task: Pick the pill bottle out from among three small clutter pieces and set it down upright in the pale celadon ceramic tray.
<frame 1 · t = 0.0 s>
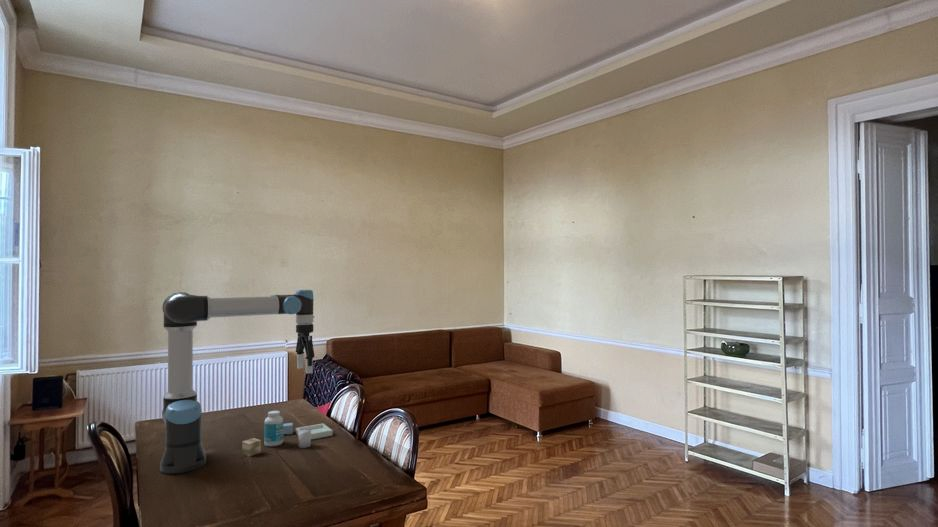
hand: (304, 370, 230), 28 cm above the table, fingers open, 13 cm apart
oak cube: (251, 453, 204), on the table
grey cylinder: (304, 446, 212), on the table
blue block: (285, 433, 229), on the table
pill bottle: (273, 444, 215), on the table
tray: (314, 434, 228), on the table
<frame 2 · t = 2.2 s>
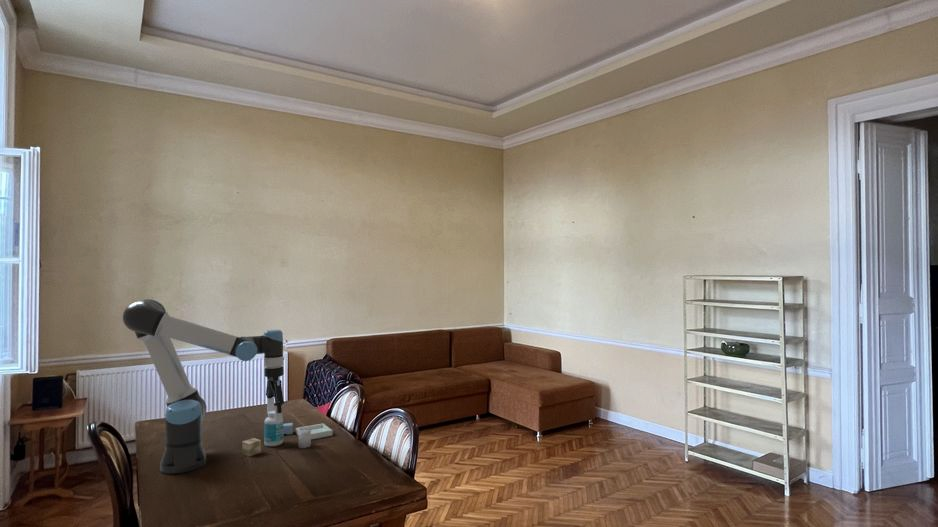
hand: (274, 416, 215), 11 cm above the table, fingers open, 13 cm apart
nothing on the table moved.
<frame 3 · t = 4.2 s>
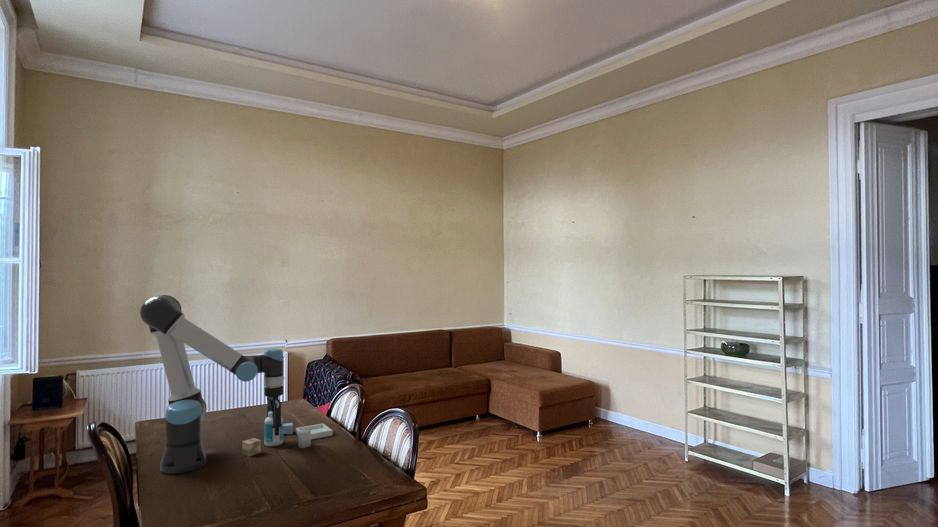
hand: (273, 440, 215), 2 cm above the table, fingers closed on pill bottle, 7 cm apart
pill bottle: (273, 444, 215), on the table, touching gripper
everything else where it was.
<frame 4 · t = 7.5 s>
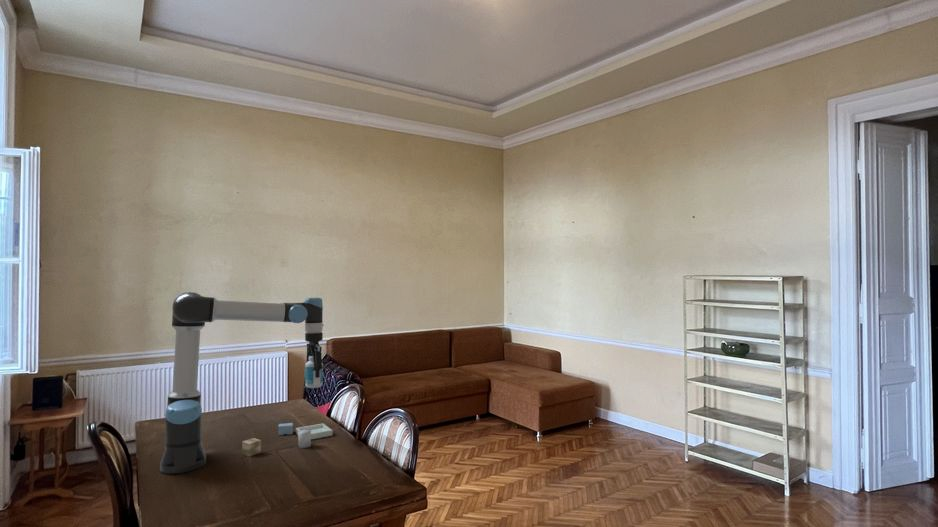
hand: (313, 383, 228), 23 cm above the table, fingers closed on pill bottle, 7 cm apart
pill bottle: (314, 387, 228), point 21 cm above the table, touching gripper
everything else where it was.
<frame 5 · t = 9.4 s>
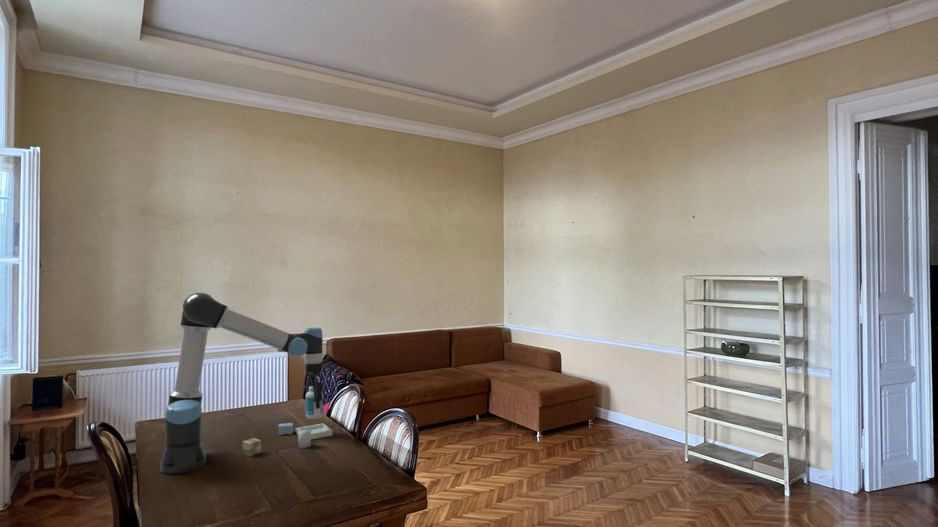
hand: (314, 413, 228), 9 cm above the table, fingers closed on pill bottle, 7 cm apart
pill bottle: (314, 417, 228), point 7 cm above the table, touching gripper
everything else where it was.
when the fingers open (4 cm above the table, at t = 11.1 s): pill bottle drops 2 cm, resting on tray.
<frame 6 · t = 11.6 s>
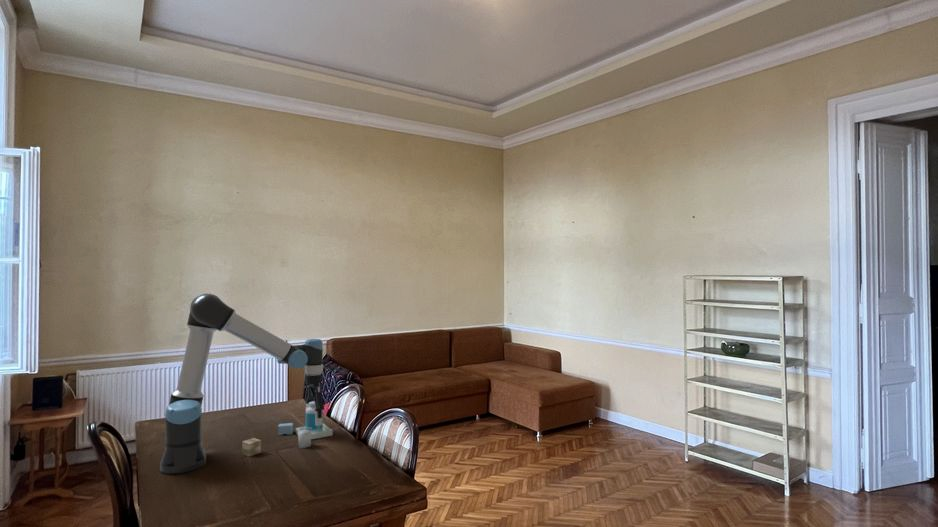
hand: (314, 421, 228), 6 cm above the table, fingers open, 13 cm apart
pill bottle: (314, 433, 227), point 1 cm above the table, touching tray
everything else where it was.
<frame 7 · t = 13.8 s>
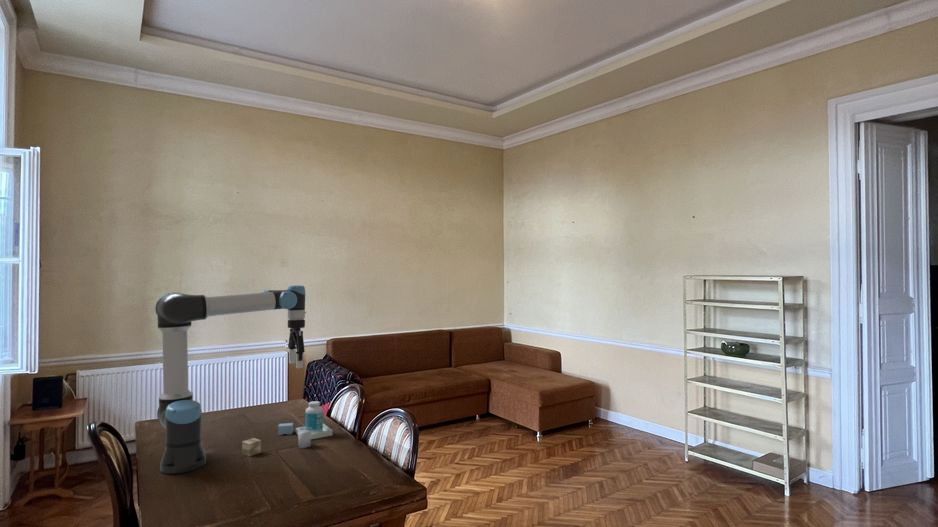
hand: (295, 365, 232), 30 cm above the table, fingers open, 13 cm apart
nothing on the table moved.
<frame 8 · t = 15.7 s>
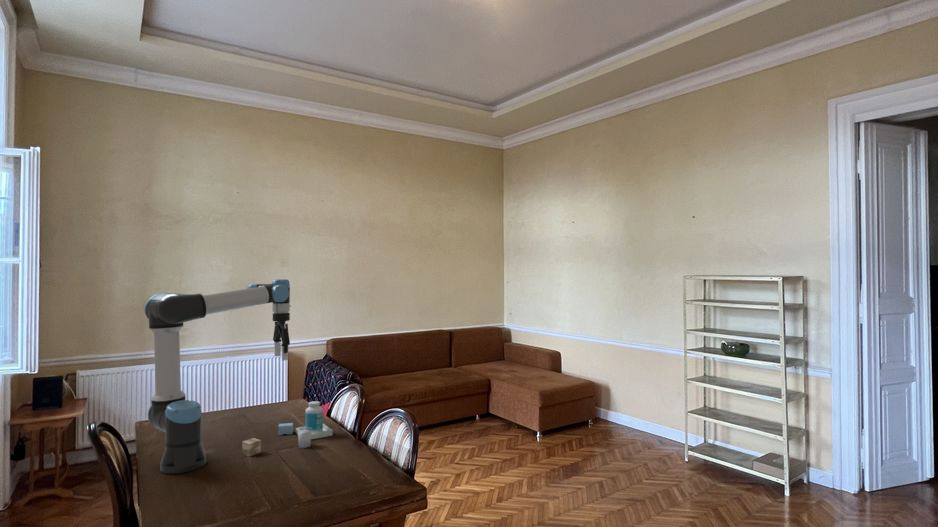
hand: (281, 358, 236), 33 cm above the table, fingers open, 13 cm apart
nothing on the table moved.
at the end: pill bottle inside the target area on the tray (0.3 cm from its centre), point 0.6 cm above the tray's base; pill bottle tilted 0°; the gripper is holding nothing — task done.
